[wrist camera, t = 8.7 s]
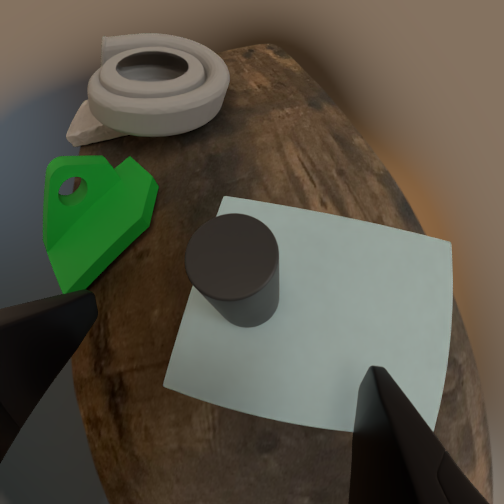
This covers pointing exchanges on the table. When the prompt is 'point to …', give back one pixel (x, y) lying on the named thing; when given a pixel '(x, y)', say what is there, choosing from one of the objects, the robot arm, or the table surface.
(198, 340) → the pale green slab
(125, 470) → the table surface
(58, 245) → the bracket
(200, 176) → the table surface
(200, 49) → the turbocharger housing
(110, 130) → the beige faceted rock
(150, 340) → the table surface
